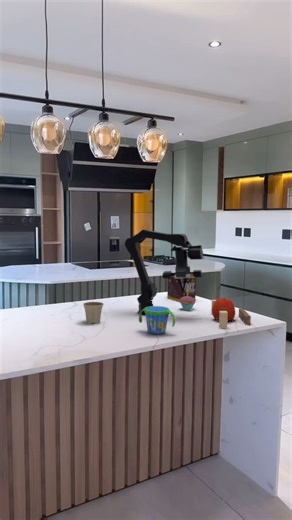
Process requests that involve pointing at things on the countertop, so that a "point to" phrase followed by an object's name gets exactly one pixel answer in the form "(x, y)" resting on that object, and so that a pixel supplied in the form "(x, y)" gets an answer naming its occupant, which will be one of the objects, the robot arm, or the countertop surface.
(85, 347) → the countertop surface
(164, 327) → the snack cup
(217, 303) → the apple
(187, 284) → the supplement box
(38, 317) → the countertop surface
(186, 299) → the cupcake
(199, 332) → the countertop surface
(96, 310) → the flower pot
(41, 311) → the countertop surface
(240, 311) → the batten
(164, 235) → the robot arm
